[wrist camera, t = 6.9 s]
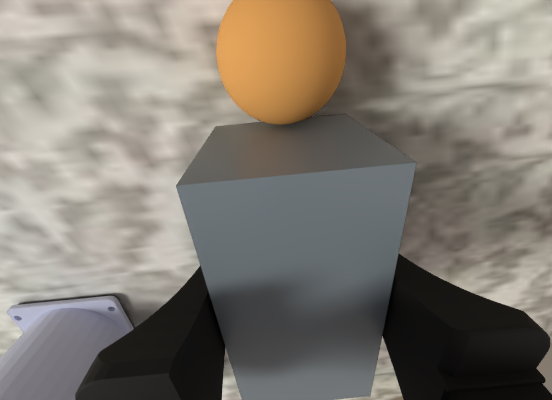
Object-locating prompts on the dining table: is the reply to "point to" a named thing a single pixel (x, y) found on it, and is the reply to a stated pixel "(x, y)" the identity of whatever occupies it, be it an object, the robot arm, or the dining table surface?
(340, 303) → the grey rectangular prism
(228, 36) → the ball
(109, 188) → the dining table surface
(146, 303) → the dining table surface
